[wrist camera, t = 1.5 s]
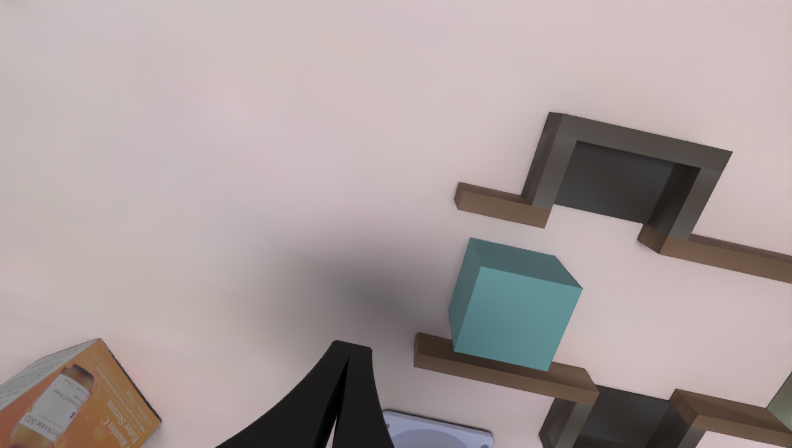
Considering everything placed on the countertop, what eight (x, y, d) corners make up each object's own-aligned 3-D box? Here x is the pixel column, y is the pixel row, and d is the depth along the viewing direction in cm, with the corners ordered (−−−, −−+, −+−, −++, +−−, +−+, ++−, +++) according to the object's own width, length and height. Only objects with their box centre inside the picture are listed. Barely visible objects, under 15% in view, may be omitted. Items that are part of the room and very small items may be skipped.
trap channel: (733, 476, 26) (780, 532, 22) (397, 404, 25) (394, 450, 22) (936, 199, 19) (1046, 220, 16) (482, 96, 19) (495, 96, 15)
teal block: (526, 326, 23) (547, 371, 19) (448, 309, 23) (454, 351, 19) (553, 254, 21) (582, 288, 18) (470, 236, 21) (480, 266, 18)
